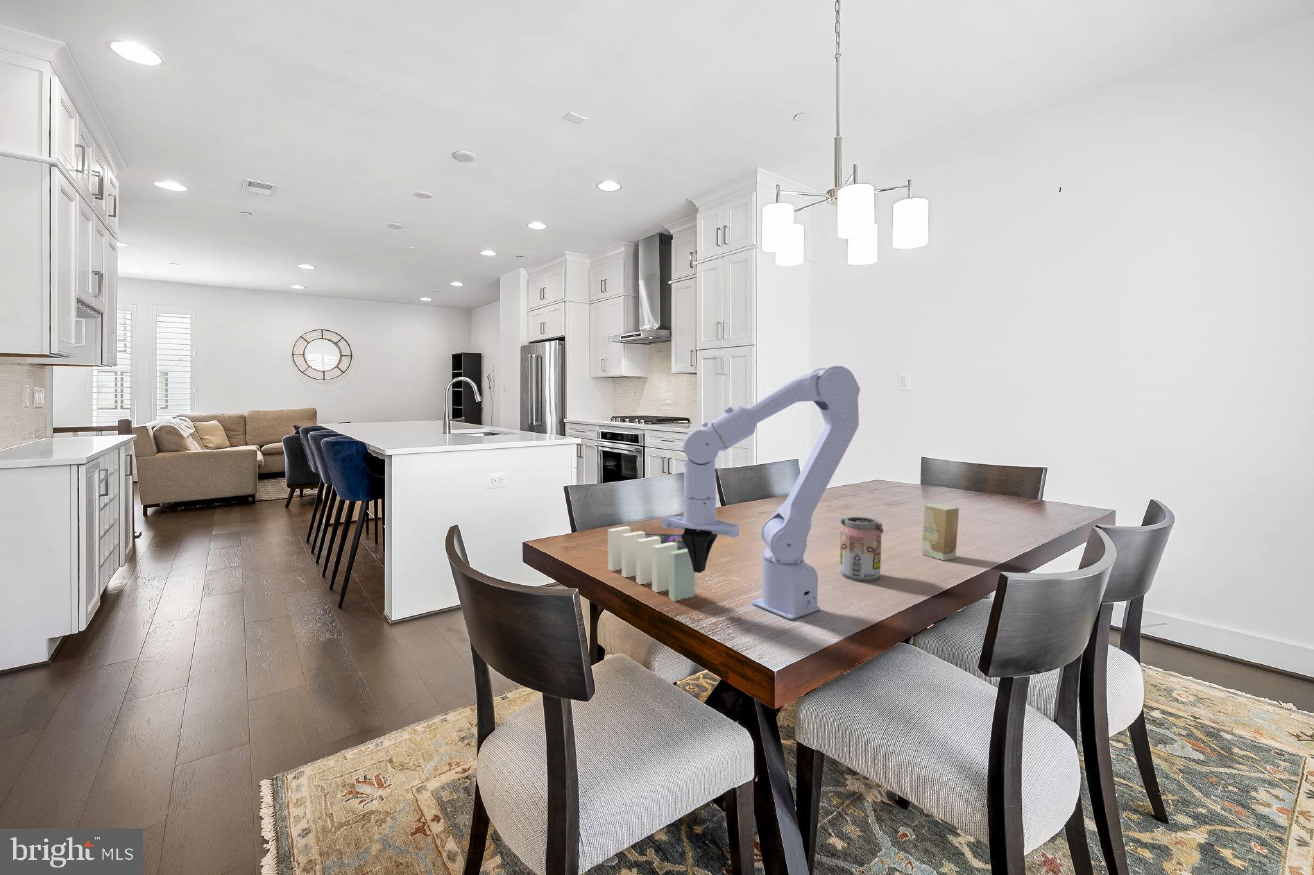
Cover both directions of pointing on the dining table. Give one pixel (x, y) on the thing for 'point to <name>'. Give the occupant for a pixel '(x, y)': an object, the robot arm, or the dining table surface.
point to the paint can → (860, 548)
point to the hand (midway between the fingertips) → (699, 571)
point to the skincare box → (940, 531)
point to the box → (669, 539)
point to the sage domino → (681, 575)
